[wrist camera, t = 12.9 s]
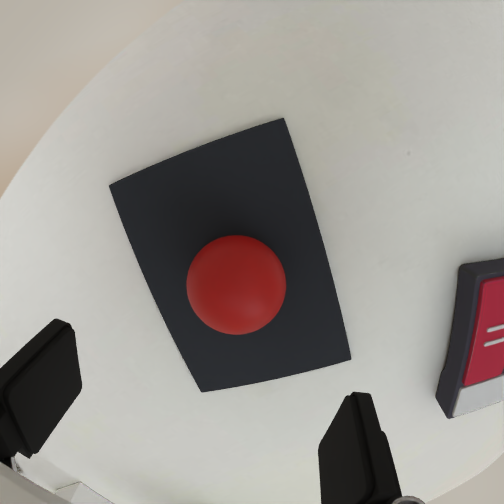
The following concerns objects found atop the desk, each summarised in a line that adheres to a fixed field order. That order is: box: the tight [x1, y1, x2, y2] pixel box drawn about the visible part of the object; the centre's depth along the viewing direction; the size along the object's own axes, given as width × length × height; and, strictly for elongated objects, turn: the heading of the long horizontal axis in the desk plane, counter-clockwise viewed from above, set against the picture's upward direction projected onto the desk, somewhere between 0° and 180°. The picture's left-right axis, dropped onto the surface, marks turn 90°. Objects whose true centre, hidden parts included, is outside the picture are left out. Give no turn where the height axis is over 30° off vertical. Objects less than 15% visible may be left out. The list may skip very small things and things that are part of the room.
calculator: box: [436, 258, 504, 419], centre depth 22 cm, size 11×4×15 cm
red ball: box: [186, 235, 286, 335], centre depth 21 cm, size 6×6×6 cm
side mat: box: [109, 118, 351, 392], centre depth 24 cm, size 20×14×1 cm
